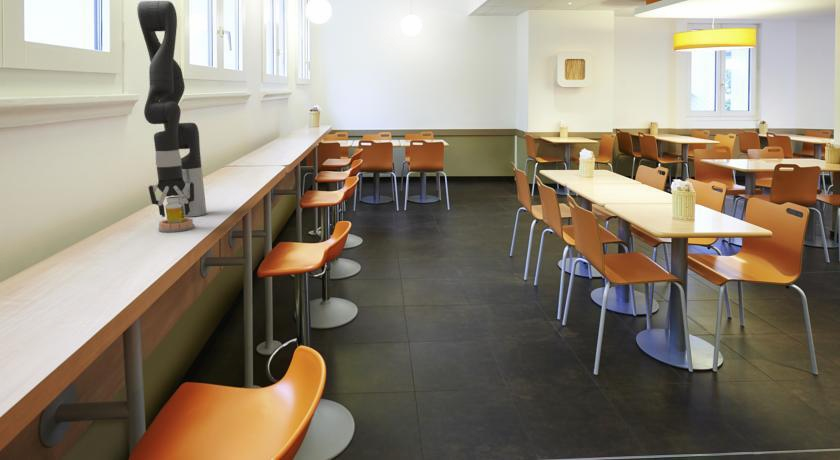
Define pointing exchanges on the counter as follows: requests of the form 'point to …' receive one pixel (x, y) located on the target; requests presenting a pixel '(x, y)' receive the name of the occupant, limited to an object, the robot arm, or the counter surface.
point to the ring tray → (176, 226)
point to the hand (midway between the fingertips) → (175, 215)
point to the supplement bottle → (174, 210)
